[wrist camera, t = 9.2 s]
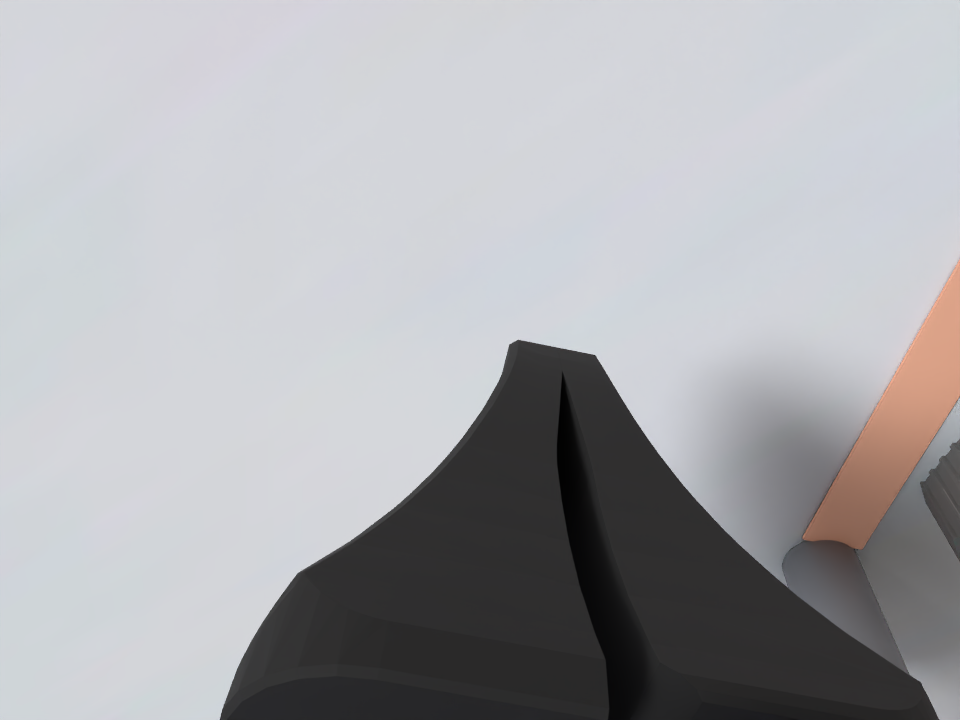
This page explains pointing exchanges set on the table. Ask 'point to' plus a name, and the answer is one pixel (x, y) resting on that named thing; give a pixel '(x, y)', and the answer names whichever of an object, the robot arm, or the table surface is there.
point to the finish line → (879, 480)
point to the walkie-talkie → (946, 495)
